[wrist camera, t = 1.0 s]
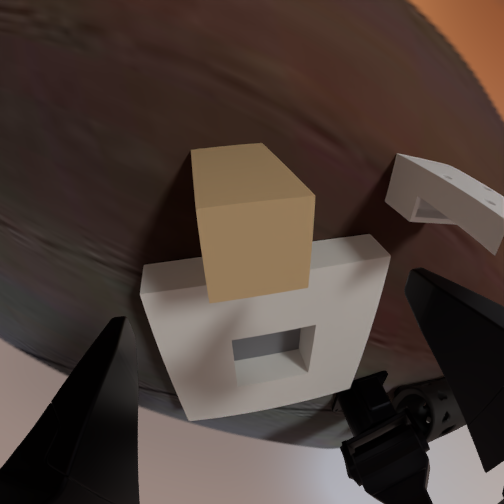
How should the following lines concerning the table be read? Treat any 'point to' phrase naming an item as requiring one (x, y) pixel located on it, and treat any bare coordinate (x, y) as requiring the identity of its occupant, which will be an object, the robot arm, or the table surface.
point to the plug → (251, 222)
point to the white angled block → (446, 199)
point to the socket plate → (265, 331)
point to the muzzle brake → (430, 407)
